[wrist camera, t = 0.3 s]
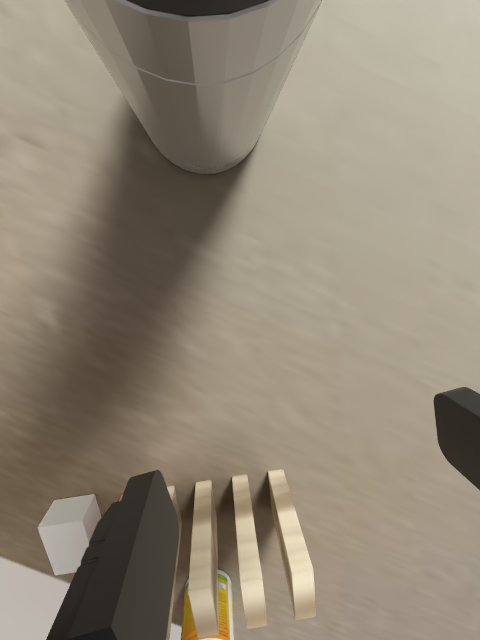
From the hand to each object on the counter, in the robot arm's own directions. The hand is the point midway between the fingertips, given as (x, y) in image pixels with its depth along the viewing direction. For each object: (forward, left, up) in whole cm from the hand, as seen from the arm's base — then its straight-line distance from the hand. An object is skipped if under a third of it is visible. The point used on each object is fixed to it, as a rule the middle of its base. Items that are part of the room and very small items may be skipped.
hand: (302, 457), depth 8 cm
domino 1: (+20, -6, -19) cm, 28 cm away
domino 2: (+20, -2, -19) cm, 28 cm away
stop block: (+20, -19, -19) cm, 33 cm away
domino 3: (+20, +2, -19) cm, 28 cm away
